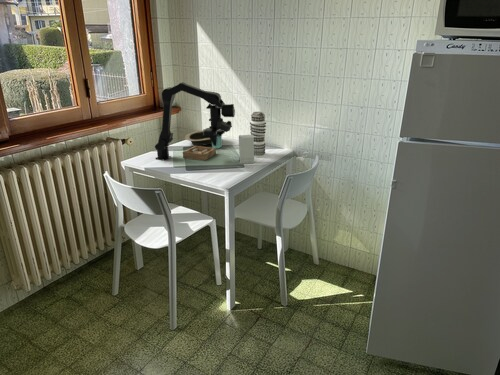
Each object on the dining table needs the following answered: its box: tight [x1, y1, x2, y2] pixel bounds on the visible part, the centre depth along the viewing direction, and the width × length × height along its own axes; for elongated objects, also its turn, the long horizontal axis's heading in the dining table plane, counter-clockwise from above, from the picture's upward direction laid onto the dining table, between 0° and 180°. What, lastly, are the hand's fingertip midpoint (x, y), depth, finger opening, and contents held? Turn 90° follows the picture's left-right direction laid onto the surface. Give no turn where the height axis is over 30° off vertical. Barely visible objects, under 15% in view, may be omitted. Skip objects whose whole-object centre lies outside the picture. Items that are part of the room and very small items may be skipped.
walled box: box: [182, 145, 217, 162], centre depth 224 cm, size 14×14×4 cm
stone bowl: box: [184, 127, 226, 147], centre depth 245 cm, size 25×25×9 cm
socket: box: [192, 148, 207, 154], centre depth 224 cm, size 5×7×3 cm
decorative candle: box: [249, 111, 267, 158], centre depth 220 cm, size 9×9×25 cm
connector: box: [211, 135, 223, 149], centre depth 213 cm, size 4×4×7 cm
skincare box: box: [238, 134, 255, 164], centre depth 211 cm, size 8×6×15 cm
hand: (216, 144), depth 214 cm, fingers closed on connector, 4 cm apart
